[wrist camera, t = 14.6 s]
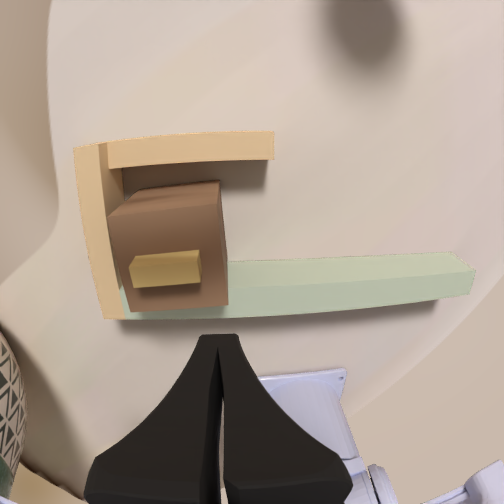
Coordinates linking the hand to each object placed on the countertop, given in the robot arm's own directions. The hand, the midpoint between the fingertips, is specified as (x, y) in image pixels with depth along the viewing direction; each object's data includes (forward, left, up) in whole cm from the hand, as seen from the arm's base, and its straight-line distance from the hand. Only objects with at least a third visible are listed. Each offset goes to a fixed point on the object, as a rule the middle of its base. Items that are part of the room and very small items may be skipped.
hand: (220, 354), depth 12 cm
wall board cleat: (+2, -6, -10) cm, 12 cm away
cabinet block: (+2, +2, -10) cm, 10 cm away
